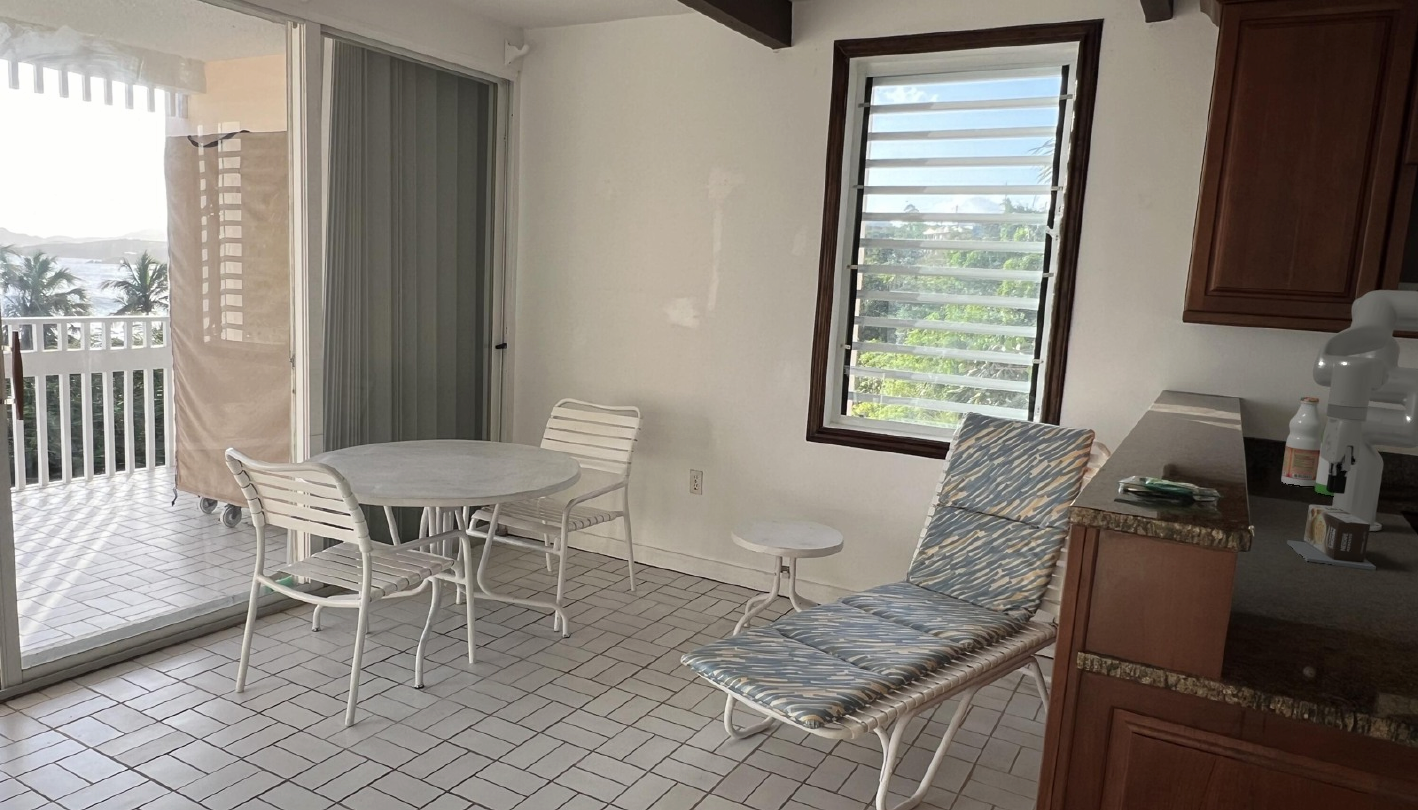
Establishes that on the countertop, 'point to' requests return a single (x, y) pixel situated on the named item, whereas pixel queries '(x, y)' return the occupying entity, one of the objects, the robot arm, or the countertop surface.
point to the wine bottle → (1322, 475)
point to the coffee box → (1336, 533)
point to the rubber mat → (1325, 556)
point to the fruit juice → (1303, 445)
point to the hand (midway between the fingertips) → (1335, 492)
